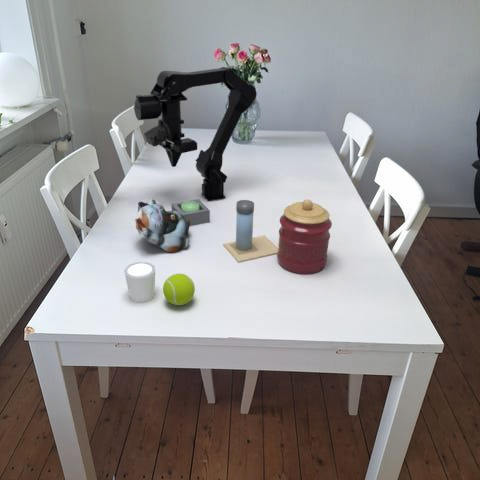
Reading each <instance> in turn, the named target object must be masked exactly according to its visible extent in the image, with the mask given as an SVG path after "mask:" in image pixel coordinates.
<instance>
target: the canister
mask: <svg viewBox="0 0 480 480" xmlns="http://www.w3.org/2000/svg"><path fill="white" fill-rule="evenodd" d="M279 223H280V225H281V226H280V228H279V230H278V235H279V236H278V246H277V247H278V251H277V254H276V255H277V262H278V264H279V265H280V267H282V268H283V269H285V270H286V271H289V272H291V273H296V274H304V275H306V274H307V275H310V274H314V273H318V272H320V271H322V270H323V269H324V268H325V266H326V264H327V261H328V252H329V250H328V249H329V243H330V239H331V233H330V229H331V228H332V224H333V223H332V220H331V219H330V212H329V211H328V210H327V209H326V208H324V207H323V206H322V205H320V204H319V203H316V202H313V201H312V200H311V199H308V198H307V199H304V200H303V201H299V202H293V203H292V204H290V205H288V206H286V207H285V208H284V209H283V214H282V215H280V218H279Z"/></svg>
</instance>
